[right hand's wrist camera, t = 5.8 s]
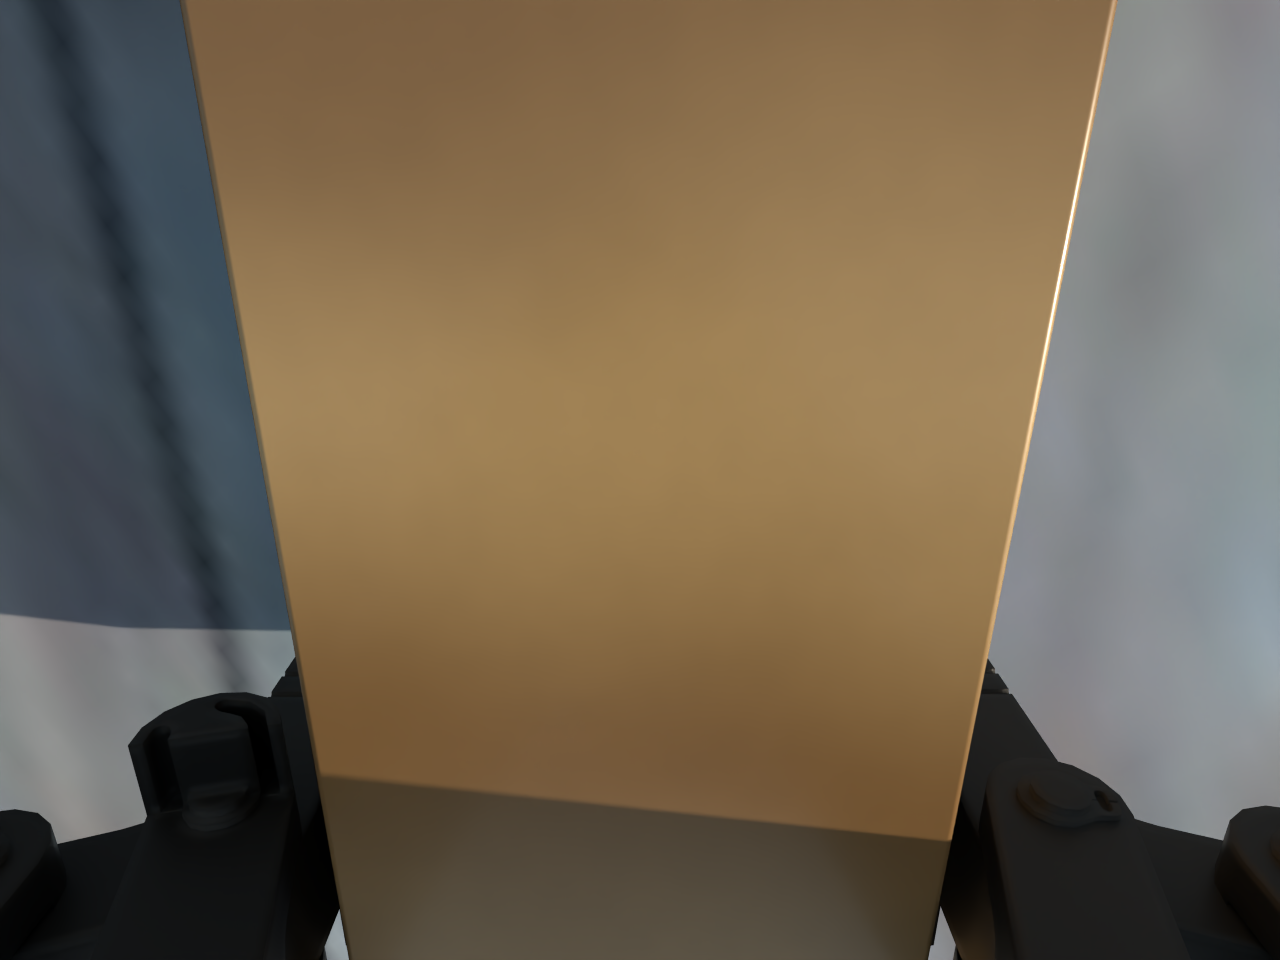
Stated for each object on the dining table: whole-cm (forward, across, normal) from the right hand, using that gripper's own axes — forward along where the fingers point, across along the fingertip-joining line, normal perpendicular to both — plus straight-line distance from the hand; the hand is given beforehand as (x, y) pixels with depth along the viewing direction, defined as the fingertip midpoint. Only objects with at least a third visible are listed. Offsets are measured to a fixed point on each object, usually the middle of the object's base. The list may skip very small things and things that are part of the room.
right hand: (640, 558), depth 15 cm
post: (0, 0, -29) cm, 29 cm away
